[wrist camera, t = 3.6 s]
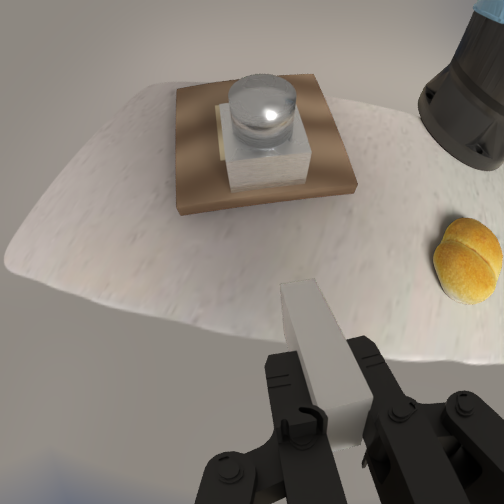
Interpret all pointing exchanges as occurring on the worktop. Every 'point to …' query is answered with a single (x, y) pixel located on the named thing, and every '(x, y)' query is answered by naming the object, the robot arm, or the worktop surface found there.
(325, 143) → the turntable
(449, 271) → the bread roll
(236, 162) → the metal block with knob
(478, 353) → the worktop surface
